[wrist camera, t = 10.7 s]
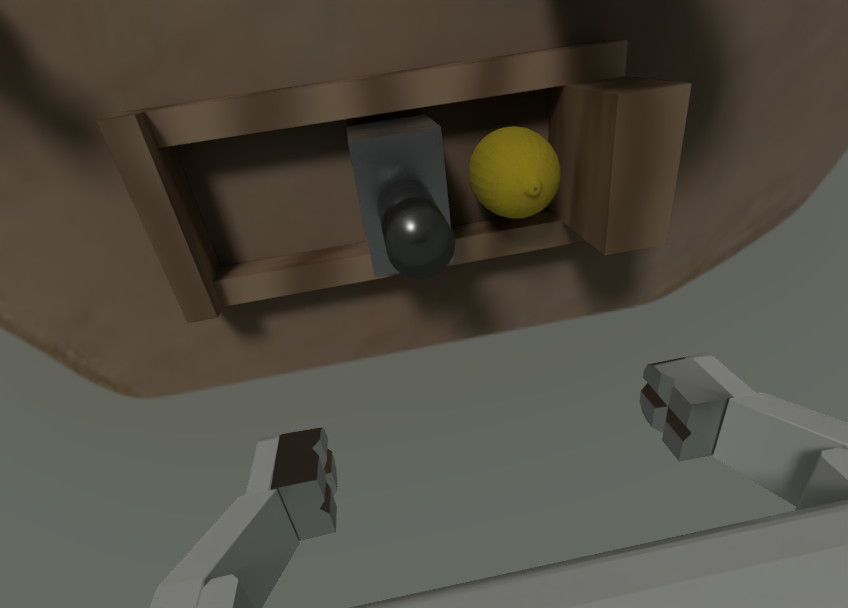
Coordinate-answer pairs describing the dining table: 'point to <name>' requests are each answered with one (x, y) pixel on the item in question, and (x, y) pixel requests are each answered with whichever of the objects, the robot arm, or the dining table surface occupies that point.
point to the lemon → (514, 172)
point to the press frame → (349, 98)
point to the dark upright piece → (403, 193)
